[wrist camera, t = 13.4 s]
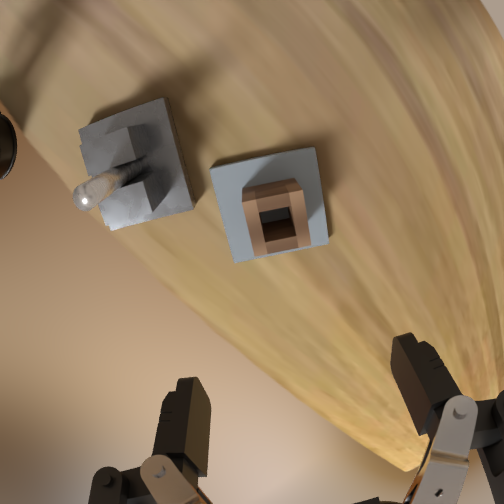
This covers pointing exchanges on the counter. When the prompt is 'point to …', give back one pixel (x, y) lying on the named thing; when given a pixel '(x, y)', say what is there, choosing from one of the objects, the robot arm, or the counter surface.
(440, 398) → the robot arm
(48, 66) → the counter surface
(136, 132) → the grey block-shaped fixture
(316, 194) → the mat
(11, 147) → the french press
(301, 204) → the collar
